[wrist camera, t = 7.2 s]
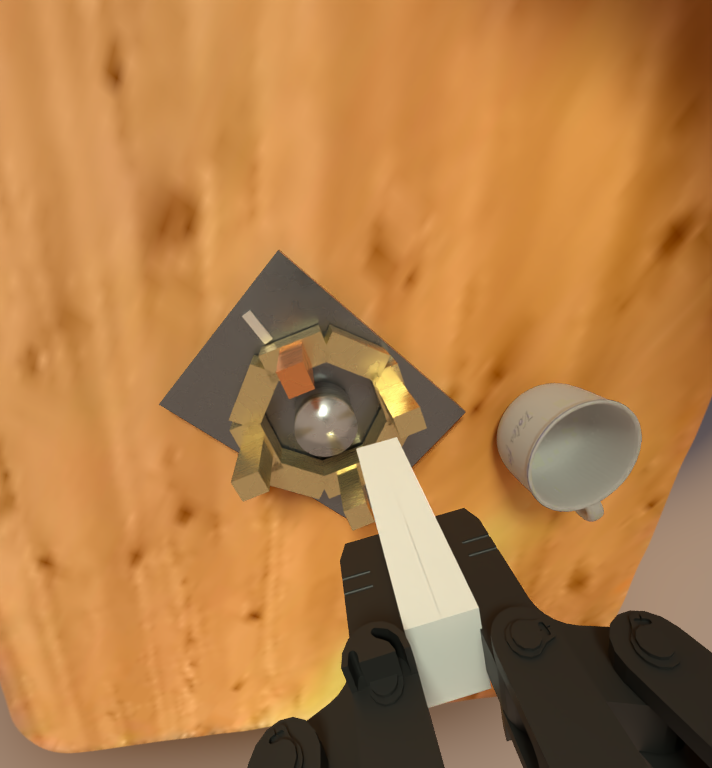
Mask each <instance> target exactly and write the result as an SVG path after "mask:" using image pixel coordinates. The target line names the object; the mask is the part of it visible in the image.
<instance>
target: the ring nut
mask: <svg viewBox="0 0 712 768" xmlns="http://www.w3.org/2000/svg"><path fill="white" fill-rule="evenodd" d="M325 362H327V363H330V364H332V365H335V366H337V367H340V368H342V369H345V370H347V371H350V372H352V373H355V374H358V375H360V376H363V377H365V378H368V379H370V381H371V384H372V386H373V389H374V392H375V394H376V397H377V400H378V402H379V405H380V407H381V409H380V411H379V413H378V415H377V417H376V419H375V421H374V423H373V425H372V427H371V429H370V431H369V433H368V435H367V437H366V439H365V441H364V442H363V444H362V445H360V446H358V447H355V448H353V449H350V450H348V451H345V452H343V453H340V454H338V455H335V456H333V457H330V458H328V459H325V460H319V459H316V458H313V457H310V456H307V455H303V454H300V453H297V452H294V451H291V450H288V449H284V448H282V447H281V445H280V443H279V441H278V439H277V437H276V435H275V433H274V431H273V429H272V428H271V426H270V424H269V422H268V420H267V418H266V416H265V412H266V410H267V407H268V405H269V402H270V400H271V398H272V395H273V393H274V390H275V388H276V385H277V383H278V381H280V382H281V384H282V386H283V388H284V390H285V392H286V394H287V396H288V398H289V399H291V398H294V397H296V396H299V395H301V394H304V393H306V392H309V391H311V390H314V389H315V385H314V377H313V369H312V368H313V367H315V366H318V365H320V364H323V363H325ZM229 421H232V425H231V427H230V430H229V431H230V432H231V434H232V436H233V437H234V439H235V441H236V443H237V444H238V446H239V448H240V451H239V455H238V458H237V462H236V466H235V469H234V473H233V477H232V480H231V483H232V485H233V487H234V488H235V490H236V491H237V493H238V495H239V496H240V498H241V500H242V501H246V500H248V499H251V498H253V497H256V496H259V495H261V494H264V493H266V492H269V489H270V486H274V487H277V488H281V489H284V490H288V491H291V492H295V493H298V494H302V495H305V496H309V497H313V498H316V499H320V497H321V495H322V493H323V491H324V489H325V491H326V493H327V495H328V497H329V499H330V498H332V497H335V496H337V495H340V494H341V499H342V505H343V511H344V514H345V516H346V518H347V520H348V522H349V524H350V526H351V528H352V530H356V529H358V528H361V527H363V526H366V525H368V524H371V523H373V522H374V518H373V515H372V511H371V507H370V504H369V500H368V496H367V493H366V489H365V486H364V485H365V480H364V476H363V472H362V469H361V465H360V461H359V457H358V454H357V450H356V449H357V448H360V447H364V446H367V445H371V444H374V443H378V442H381V441H385V440H389V439H392V438H396V437H397V438H398V441H399V443H400V445H401V447H402V446H403V444H404V442H405V441H406V439H407V437H408V436H409V435H411V434H414V433H416V432H419V431H421V430H424V429H426V428H427V427H426V424H425V421H424V418H423V415H422V412H421V409H420V406H419V405H418V404H417V402H416V401H415V400H414V398H413V397H412V396H411V394H410V393H409V391H408V390H407V389H406V387H405V384H404V381H403V378H402V375H401V372H400V369H399V366H398V363H397V362H396V361H395V360H394V358H393V357H392V356H391V355H389V353H388V352H387V351H386V350H385V348H384V347H382V346H379V345H377V344H375V343H372V342H370V341H367V340H365V339H363V338H360V337H358V336H356V335H353V334H351V333H349V332H346V331H344V330H342V329H339V328H337V327H334V326H332V325H329V328H328V330H327V332H326V334H325V337H324V336H323V333H322V331H321V329H320V326H319V325H316V326H314V327H311V328H308V329H306V330H303V331H301V332H298V333H296V334H293V335H291V336H288V337H286V338H283V339H281V340H278V341H276V342H273V343H271V344H268V345H266V346H263V347H261V350H260V353H259V357H258V356H256V355H253V358H252V361H251V363H250V366H249V368H248V371H247V374H246V376H245V379H244V381H243V384H242V386H241V389H240V392H239V394H238V397H237V399H236V402H235V405H234V407H233V410H232V412H231V415H230V418H229Z"/></svg>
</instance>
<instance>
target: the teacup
mask: <svg viewBox="0 0 712 768" xmlns="http://www.w3.org/2000/svg"><path fill="white" fill-rule="evenodd" d="M641 442H642V434H641V427H640V423H639V421H638V419H637V417H636V416H635V414H634V413H633V412H632V411H631V410H630V409H629V408H628V407H626V406H625V405H623V404H621V403H619V402H616V401H613V400H608V399H605V398H603V397H601V396H599V395H596V394H594V393H591V392H589V391H586V390H584V389H581V388H578V387H575V386H572V385H568V384H561V383H550V384H543V385H539V386H536V387H533V388H531V389H529V390H527V391H526V392H524V393H522V394H521V395H520V396H519V397H517V398H516V399H515V400H514V401H513V402H512V403H511V404H510V405H509V407H508V408H507V409H506V411H505V412H504V414H503V416H502V418H501V420H500V423H499V426H498V430H497V448H498V451H499V454H500V457H501V459H502V461H503V463H504V464H505V466H506V467H507V468H508V470H509V471H510V472H511V473H512V474H513V475H514V476H515V477H516V478H517V479H518V480H519V481H520V482H521V483H522V484H523V485H524V486H525V487H526V488H527V489H528V490H529V491H530V492H531V493H532V495H533V496H534V497H535V498H536V500H537V501H538V502H539V503H541V504H542V505H543V506H545V507H547V508H549V509H552V510H555V511H560V512H561V511H564V512H568V511H576V513H577V514H578V515H579V516H581V517H582V518H583V519H584V520H587V521H596V520H598V519H600V518H601V517H602V516H603V514H604V510H603V506H602V504H601V502H600V501H602V500H603V499H605V498H606V497H608V496H609V495H610V494H611V493H612V492H613V491H615V490H616V489H617V488H618V487H619V486H620V485H621V484H622V483H623V482H624V481H625V480H626V478H627V477H628V475H629V474H630V472H631V470H632V469H633V467H634V465H635V463H636V461H637V458H638V455H639V452H640V447H641Z"/></svg>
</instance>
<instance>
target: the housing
mask: <svg viewBox="0 0 712 768" xmlns="http://www.w3.org/2000/svg"><path fill="white" fill-rule="evenodd" d="M316 325H319V326H320V329H321V331H322V333H323V336H324V337H325V334H326V332H327V330H328V328H329V325H332V326H334V327H337V328H339V329H342V330H344V331H346V332H349V333H351V334H353V335H356V336H358V337H360V338H363V339H365V340H367V341H370V342H372V343H375V344H377V345H379V346H382V347H384V348H385V350H386V351H387V352H388V353H389V355H391V356H392V357H393V358H394V360H395V361H396V362H397V363H398V366H399V369H400V372H401V375H402V378H403V381H404V384H405V387H406V389H407V390H408V391H409V393H410V394H411V396H412V397H413V398H414V400H415V401H416V402H417V404H418V405H419V406H420V409H421V412H422V415H423V418H424V421H425V424H426V427H427V428H426V429H424V430H421V431H419V432H416V433H414V434H411V435H409V436H408V437H407V439H406V441H405V442H404V444H403V446H402V449H403V451H404V453H405V455H406V457H407V459H408V461H409V463H410V465H411V467H412V466H413V465H414V464H415V463H416V462H417V461H418V460H419V459H420V458H421V457H422V456H423V455H424V454H425V453H426V452H427V451H428V450H429V449H430V448H431V447H432V446H433V445H434V444H435V443H436V442H437V441H438V440H439V439H440V438H441V437H442V436H443V435H444V434H445V433H446V432H447V431H448V430H449V429H450V428H451V427H452V426H453V425H454V423H455V422H456V421H457V420H458V419H459V418H460V417H461V416H462V415H463V414H464V413H465V411H464V410H463V409H462V408H461V407H460V406H459V405H458V404H457V403H456V402H455V401H454V400H453V399H451V398H450V397H449V396H448V395H447V394H446V393H444V392H443V391H442V390H441V389H440V388H439V387H437V386H436V385H435V384H434V383H433V382H432V381H431V380H429V379H428V378H427V377H426V376H425V375H424V374H422V373H421V372H420V371H419V370H418V369H417V368H415V367H414V366H413V365H412V364H411V363H410V362H409V361H407V360H406V359H405V358H404V357H403V356H402V355H400V354H399V353H398V352H397V351H396V350H395V349H393V348H392V347H391V346H390V345H389V344H388V343H387V342H385V341H384V340H383V339H382V338H381V337H380V336H378V335H377V334H376V333H375V332H374V331H373V330H371V329H370V328H369V327H368V326H367V325H366V324H365V323H363V322H362V321H361V320H360V319H359V318H358V317H356V316H355V315H354V314H353V313H352V312H351V311H349V310H348V309H347V308H346V307H345V306H344V305H343V304H341V303H340V302H339V301H338V300H337V299H336V298H334V297H333V296H332V295H331V294H330V293H329V292H327V291H326V290H325V289H324V288H323V287H322V286H321V285H319V284H318V283H317V282H316V281H315V280H314V279H312V278H311V277H310V276H309V275H308V274H307V273H305V272H304V271H303V270H302V269H301V268H300V267H299V266H297V265H296V264H295V263H294V262H293V261H292V260H290V259H289V258H288V257H287V256H286V255H285V254H283V253H282V252H281V251H280V250H278V251H277V252H276V254H275V255H274V256H273V258H272V259H271V260H270V261H269V263H268V264H267V265H266V267H265V268H264V269H263V271H262V272H261V273H260V274H259V276H258V277H257V278H256V280H255V281H254V282H253V283H252V285H251V286H250V287H249V289H248V290H247V291H246V293H245V294H244V295H243V296H242V298H241V299H240V300H239V302H238V303H237V304H236V305H235V307H234V308H233V309H232V311H231V312H230V313H229V314H228V316H227V317H226V318H225V320H224V321H223V322H222V324H221V325H220V326H219V327H218V329H217V330H216V331H215V333H214V334H213V335H212V336H211V338H210V339H209V340H208V342H207V343H206V344H205V346H204V347H203V348H202V349H201V351H200V352H199V353H198V355H197V356H196V357H195V358H194V360H193V361H192V362H191V364H190V365H189V366H188V368H187V369H186V370H185V371H184V373H183V374H182V375H181V377H180V378H179V379H178V380H177V382H176V383H175V384H174V386H173V387H172V388H171V389H170V391H169V392H168V393H167V395H166V396H165V397H164V399H163V400H162V401H161V402H160V404H159V405H161V406H163V407H164V408H166V409H167V410H169V411H171V412H172V413H174V414H176V415H177V416H179V417H181V418H182V419H184V420H186V421H187V422H189V423H191V424H192V425H194V426H195V427H197V428H199V429H200V430H202V431H204V432H205V433H207V434H209V435H210V436H212V437H214V438H215V439H217V440H218V441H220V442H222V443H223V444H225V445H227V446H228V447H230V448H232V449H233V450H235V451H237V452H238V453H239V451H240V448H239V446H238V444H237V443H236V441H235V439H234V437H233V436H232V434H231V432H230V431H229V430H230V427H231V425H232V421H229V418H230V415H231V412H232V410H233V407H234V405H235V402H236V399H237V397H238V394H239V392H240V389H241V386H242V384H243V381H244V379H245V376H246V374H247V371H248V368H249V366H250V363H251V361H252V358H253V355H256V356H258V357H259V353H260V350H261V347H263V346H266V345H268V344H271V343H273V342H276V341H278V340H281V339H283V338H286V337H288V336H291V335H293V334H296V333H298V332H301V331H303V330H306V329H308V328H311V327H314V326H316ZM312 369H313V377H314V385H315V389H314V390H311V391H309V392H306V393H304V394H301V395H299V396H296V397H294V398H291V399H289V398H288V396H287V394H286V392H285V390H284V388H283V386H282V384H281V382H280V381H278V383H277V385H276V388H275V390H274V393H273V395H272V398H271V400H270V402H269V405H268V407H267V410H266V412H265V416H266V418H267V420H268V422H269V424H270V426H271V428H272V429H273V431H274V433H275V435H276V437H277V439H278V441H279V443H280V445H281V447H282V448H284V449H288V450H291V451H294V452H297V453H300V454H303V455H307V456H310V457H313V458H316V459H319V460H325V459H328V458H330V457H333V456H335V455H338V454H340V453H343V452H345V451H348V450H350V449H353V448H355V447H358V446H360V445H362V444H363V442H364V441H365V439H366V437H367V435H368V433H369V431H370V429H371V427H372V425H373V423H374V421H375V419H376V417H377V415H378V413H379V411H380V409H381V407H380V405H379V402H378V400H377V397H376V394H375V392H374V389H373V386H372V384H371V381H370V379H368V378H365V377H363V376H360V375H358V374H355V373H352V372H350V371H347V370H345V369H342V368H340V367H337V366H335V365H332V364H330V363H327V362H325V363H323V364H320V365H318V366H315V367H313V368H312ZM364 486H365V489H366V493H367V496H368V500H369V504H370V507H371V508H372V506H371V503H370V499H369V495H368V491H367V488H366V484H365V485H364ZM312 498H313V497H312ZM314 499H316V498H314ZM316 500H317V501H319V502H321V503H322V504H324V505H325V506H327V507H329V508H330V509H332V510H334V511H335V512H337V513H339V514H340V515H342V516H344V517H345V518H346V516H345V514H344V511H343V505H342V499H341V494H340V495H337V496H335V497H332V498H330V499H329V497H328V495H327V493H326V491H325V489H324V491H323V493H322V495H321V497H320V499H316Z"/></svg>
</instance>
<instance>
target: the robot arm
mask: <svg viewBox="0 0 712 768" xmlns="http://www.w3.org/2000/svg"><path fill="white" fill-rule="evenodd" d="M356 450H357V454H358V457H359V461H360V465H361V469H362V472H363V476H364V480H365V484H366V488H367V491H368V495H369V499H370V503H371V506H372V510H373V514H374V518H375V522H376V525H377V529H378V533H379V534H378V535H374V536H371V537H367V538H364V539H361V540H357V541H354V542H350V543H347V544H345V547H344V550H343V553H342V556H341V559H340V564H341V572H342V579H343V589H344V595H345V605H346V613H347V621H348V629H349V637H350V638H349V639H348V641H347V643H346V646H345V648H344V650H343V652H342V664H341V669H342V671H343V674H344V676H345V678H346V684H345V686H344V687H343V689H342V690H341V692H340V693H339V695H338V696H337V697H336V698H335V699H334V700H333V701H332V702H331V703H329V704H328V705H327V706H326V707H324V708H323V709H322V710H320V711H319V712H318V713H317V714H315V715H314V716H313V717H311V718H310V719H309V720H307V721H306V720H303V719H299V718H295V717H291V718H287V719H284V720H280V721H278V722H277V723H276V724H274V725H273V726H272V727H270V728H269V729H268V730H267V731H266V732H265V734H264V735H263V737H262V738H261V739H260V740H259V742H258V743H257V744H256V746H255V749H254V751H253V754H252V756H251V759H250V761H249V764H248V768H445V767H444V764H443V760H442V756H441V753H440V749H439V746H438V742H437V738H436V735H435V731H434V727H433V724H432V720H431V716H430V713H429V709H428V708H430V707H433V706H436V705H440V704H443V703H446V702H449V701H452V700H456V699H459V698H462V697H465V696H468V695H472V694H475V693H478V692H481V691H484V690H487V689H491V684H490V680H491V683H492V685H493V687H494V690H495V692H496V694H497V697H498V699H499V701H500V706H501V713H502V720H503V727H504V731H505V736H506V740H507V741H509V740H512V742H513V744H514V747H515V749H516V751H517V754H518V756H519V758H520V761H521V763H522V766H523V768H712V653H711V652H710V651H709V650H708V649H706V648H705V647H704V646H702V645H701V644H700V643H698V642H697V641H696V640H695V639H693V638H692V637H691V636H689V635H688V634H687V633H686V632H684V631H683V630H681V629H680V628H679V627H678V626H676V625H674V624H673V623H671V622H669V621H668V620H666V619H664V618H663V617H661V616H657V615H654V614H651V613H648V612H645V611H627V612H625V613H621V614H619V615H617V616H616V617H615V618H614V620H613V621H612V622H611V624H610V627H598V626H579V625H572V624H566V623H563V622H560V621H557V620H554V619H553V618H551V617H549V616H547V615H546V614H544V613H543V612H542V611H540V610H539V609H538V608H537V607H536V606H535V605H534V604H533V603H532V601H531V600H530V599H529V598H528V596H527V594H526V593H525V591H524V590H523V588H522V586H521V585H520V583H519V582H518V580H517V578H516V577H515V575H514V574H513V572H512V571H511V569H510V567H509V566H508V564H507V563H506V561H505V559H504V558H503V556H502V555H501V553H500V552H499V550H497V548H496V545H495V544H494V542H493V540H492V539H491V537H489V535H488V533H487V531H486V529H485V528H484V526H483V525H482V523H481V521H480V520H479V519H478V518H477V517H476V516H474V515H473V514H471V513H470V512H469V511H467V510H466V509H465V508H462V509H459V510H456V511H452V512H449V513H445V514H442V515H438V516H435V515H434V513H433V511H432V509H431V507H430V505H429V503H428V501H427V499H426V497H425V495H424V493H423V490H422V488H421V486H420V484H419V482H418V480H417V478H416V476H415V474H414V472H413V470H412V468H411V465H410V463H409V461H408V459H407V457H406V455H405V453H404V451H403V449H402V447H401V445H400V443H399V441H398V438H397V437H396V438H392V439H389V440H385V441H381V442H378V443H374V444H371V445H367V446H364V447H360V448H357V449H356Z"/></svg>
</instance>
